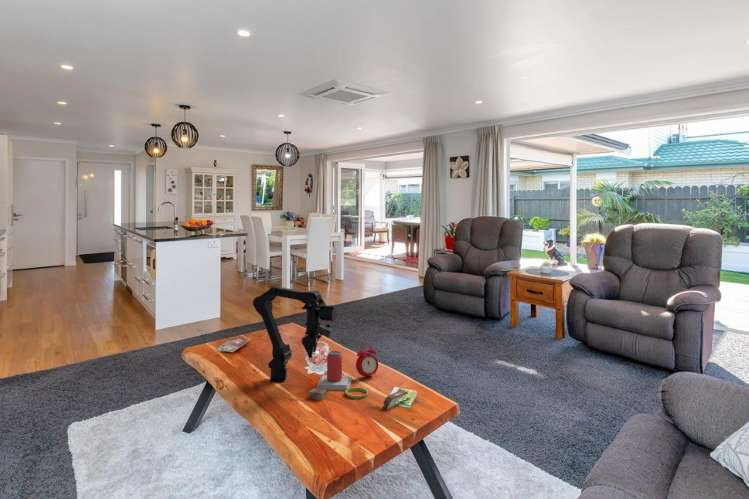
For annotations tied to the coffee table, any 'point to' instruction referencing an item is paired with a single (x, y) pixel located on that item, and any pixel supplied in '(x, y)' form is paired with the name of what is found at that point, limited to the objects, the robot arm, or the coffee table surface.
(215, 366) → the coffee table surface
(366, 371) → the alarm clock
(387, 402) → the wallet with cash
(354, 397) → the olive green ring
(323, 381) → the stand
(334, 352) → the beer can
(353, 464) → the coffee table surface
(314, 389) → the metal block
